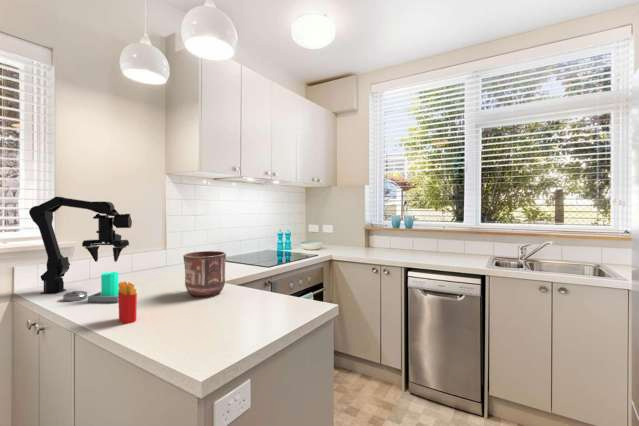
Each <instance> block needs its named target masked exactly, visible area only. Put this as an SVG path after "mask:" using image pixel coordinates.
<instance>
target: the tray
mask: <svg viewBox="0 0 639 426" xmlns="http://www.w3.org/2000/svg"><path fill="white" fill-rule="evenodd" d="M87 303H88V304H93V303H94V304H95V303H97V304H119V301H118V296H101V291H98V292H96V293H94V294H91V295H89V296H88V295H87Z"/></svg>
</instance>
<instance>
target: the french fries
mask: <svg viewBox="0 0 639 426" xmlns="http://www.w3.org/2000/svg"><path fill="white" fill-rule="evenodd" d="M118 285H119V292H118V301H119V302H118V319H119V322H120V323H121V324H132V323H135V322H136V321H137V307H138V305H137V303H138V302H137V299H138V293H137V289H136V288H135V284H133V283H132V282H126V281H121V282H119V284H118Z"/></svg>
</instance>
